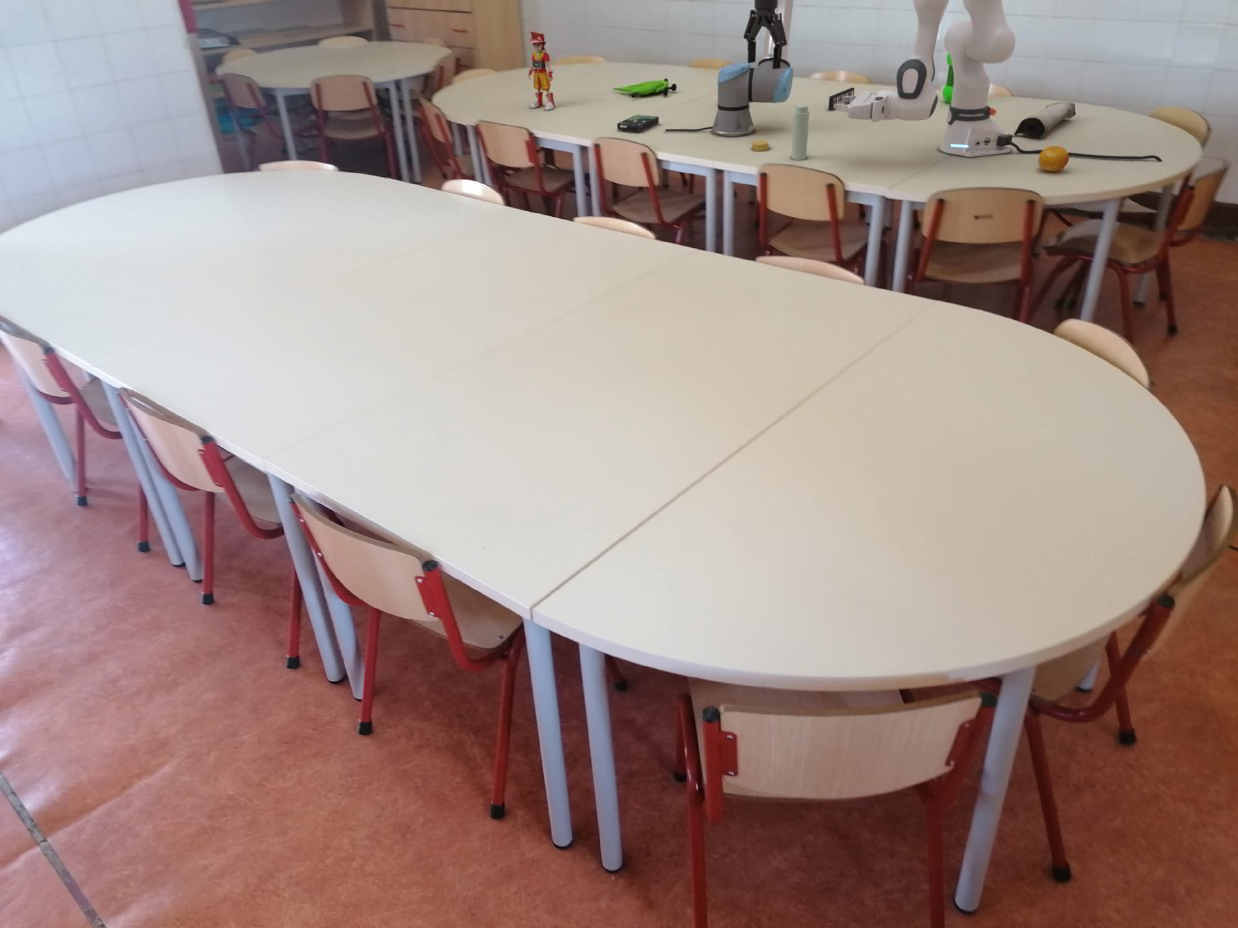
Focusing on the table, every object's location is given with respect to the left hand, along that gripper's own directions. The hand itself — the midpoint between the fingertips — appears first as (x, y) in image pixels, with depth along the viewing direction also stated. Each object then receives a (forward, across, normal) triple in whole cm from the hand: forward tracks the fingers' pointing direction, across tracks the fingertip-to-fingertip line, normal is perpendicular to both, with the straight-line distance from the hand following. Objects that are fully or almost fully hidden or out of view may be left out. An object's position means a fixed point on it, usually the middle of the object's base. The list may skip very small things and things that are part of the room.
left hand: (763, 65), depth 301 cm
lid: (+26, 0, 0) cm, 26 cm away
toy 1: (+27, -109, -33) cm, 117 cm away
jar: (+27, +17, +3) cm, 33 cm away
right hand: (+9, +27, +10) cm, 31 cm away
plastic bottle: (+27, -2, +96) cm, 100 cm away
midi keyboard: (+27, -27, +61) cm, 72 cm away
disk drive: (+27, -53, -19) cm, 63 cm away
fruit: (+27, +78, +54) cm, 99 cm away
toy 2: (+27, -104, +13) cm, 108 cm away
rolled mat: (+27, +45, +91) cm, 106 cm away
